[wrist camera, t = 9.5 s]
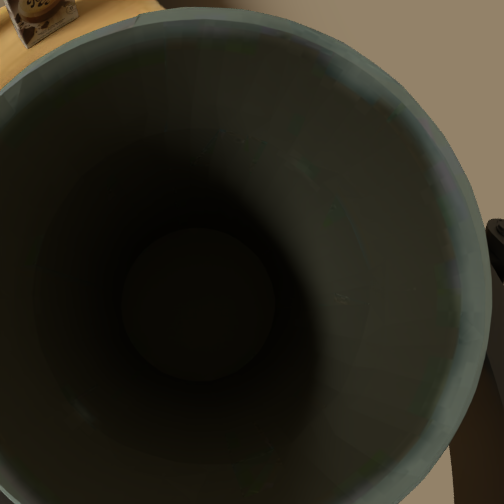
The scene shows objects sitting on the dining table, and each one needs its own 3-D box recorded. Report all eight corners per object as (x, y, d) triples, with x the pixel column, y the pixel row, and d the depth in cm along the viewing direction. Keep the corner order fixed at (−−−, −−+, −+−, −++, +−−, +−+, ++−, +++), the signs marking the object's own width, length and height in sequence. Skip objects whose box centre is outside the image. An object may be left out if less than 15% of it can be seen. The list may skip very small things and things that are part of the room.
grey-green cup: (323, 252, 17) (504, 150, 5) (255, 430, 14) (364, 596, 3) (149, 178, 16) (102, -22, 4) (72, 354, 14) (-114, 396, 2)
